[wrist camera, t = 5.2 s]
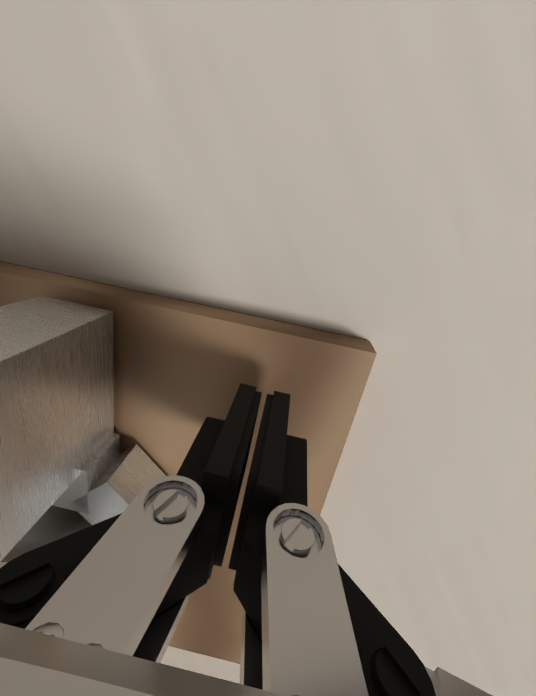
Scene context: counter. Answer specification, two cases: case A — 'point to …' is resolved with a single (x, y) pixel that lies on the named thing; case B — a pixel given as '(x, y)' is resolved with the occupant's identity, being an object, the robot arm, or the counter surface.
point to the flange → (60, 418)
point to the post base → (206, 406)
